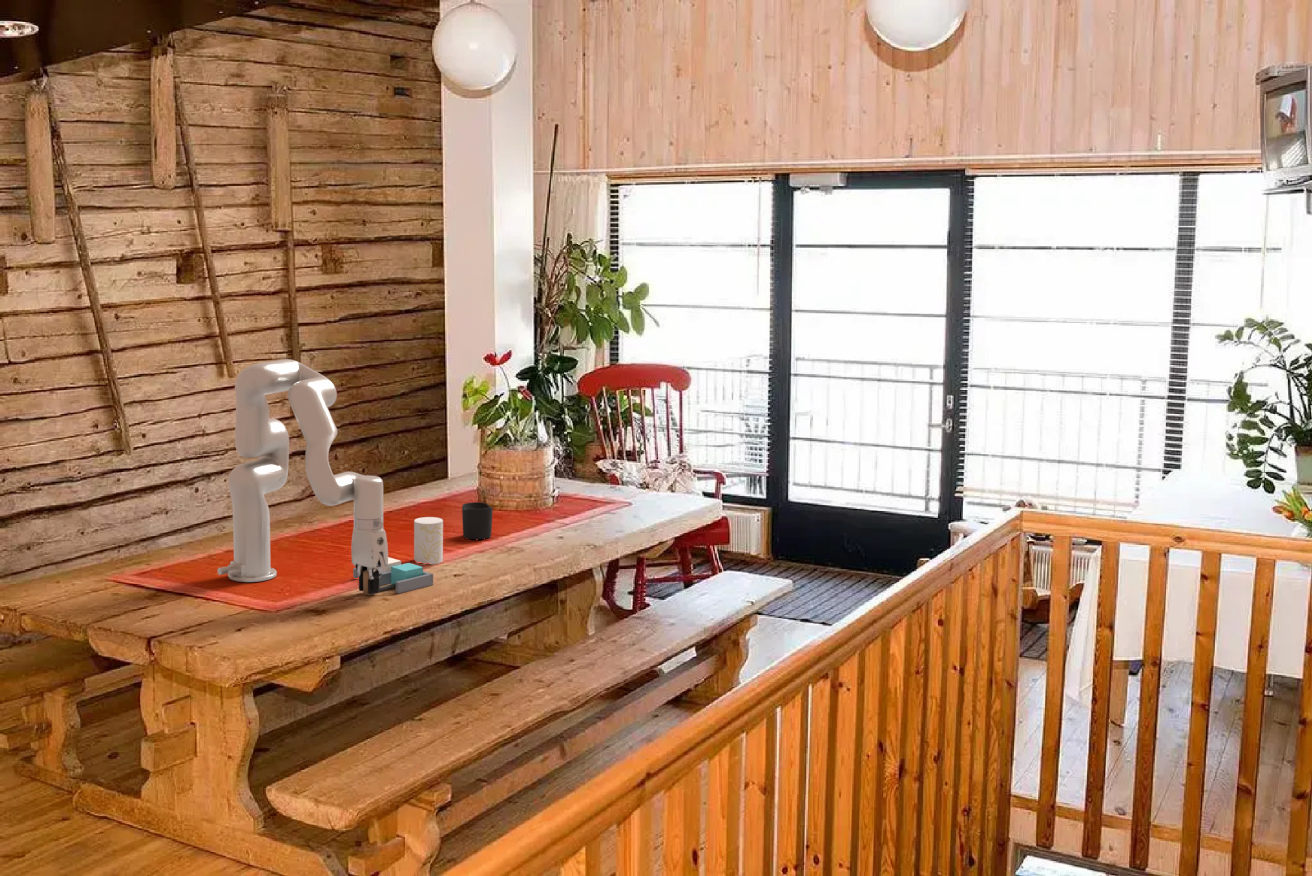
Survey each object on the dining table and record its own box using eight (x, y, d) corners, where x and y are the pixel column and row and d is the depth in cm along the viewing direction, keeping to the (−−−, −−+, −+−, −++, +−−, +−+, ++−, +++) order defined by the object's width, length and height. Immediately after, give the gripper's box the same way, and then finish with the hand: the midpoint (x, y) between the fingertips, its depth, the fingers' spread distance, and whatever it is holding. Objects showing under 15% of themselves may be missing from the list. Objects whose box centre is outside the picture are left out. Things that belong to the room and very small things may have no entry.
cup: (419, 565, 371) (419, 524, 369) (410, 558, 378) (410, 518, 376) (446, 562, 374) (446, 522, 372) (437, 555, 382) (437, 516, 379)
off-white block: (383, 582, 353) (383, 564, 352) (369, 578, 357) (369, 560, 356) (401, 578, 358) (401, 560, 357) (386, 574, 362) (386, 556, 361)
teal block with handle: (371, 597, 339) (371, 574, 338) (357, 592, 343) (357, 570, 342) (422, 585, 352) (422, 563, 351) (408, 580, 356) (408, 559, 355)
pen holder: (496, 534, 409) (496, 503, 407) (487, 541, 400) (487, 510, 398) (467, 532, 410) (467, 501, 409) (457, 539, 401) (458, 507, 400)
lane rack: (398, 593, 343) (398, 582, 343) (353, 578, 355) (353, 568, 355) (433, 584, 353) (433, 574, 352) (388, 570, 364) (388, 560, 364)
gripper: (400, 526, 337) (400, 595, 340) (360, 515, 347) (361, 582, 350) (377, 531, 331) (377, 601, 334) (337, 520, 341) (338, 587, 344)
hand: (369, 590), depth 342 cm, fingers closed on teal block with handle, 3 cm apart
